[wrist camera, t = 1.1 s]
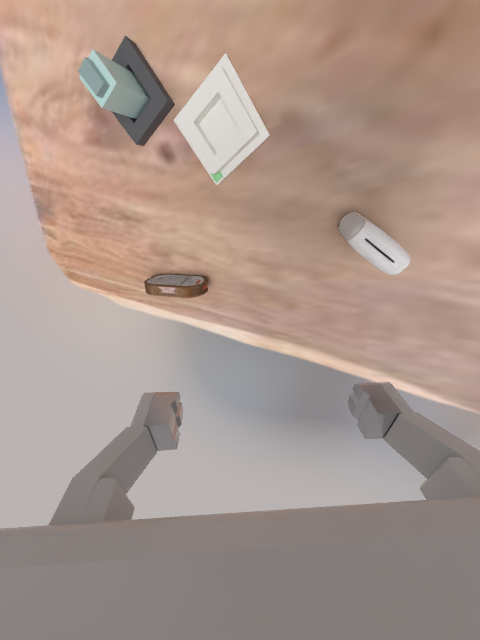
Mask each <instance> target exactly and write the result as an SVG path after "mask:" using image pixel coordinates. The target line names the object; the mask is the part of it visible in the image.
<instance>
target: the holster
mask: <svg viewBox="0 0 480 640" xmlns="http://www.w3.org/2000/svg"><path fill="white" fill-rule="evenodd" d="M112 61H114V62H116V63H117V64H119V65H121V66H122V67H124V68H126V69H127V70H129V71H131V72H132V73H134V74H135V75H136V76H137V78H138V79H139V81H140V82H141V84H142V85H143V87H144V88H145V90H146V91H147V93H148V94H149V96H150V97H151V99H150V101H149V102H148V104H147V105H146V107H145V108H144V110H143V111H142V113H141V114H140V116H139V117H138V118H137V119H134V118H131V117H128V116H125V115H122V114H119V113H116V112H113V111H112V112H113V114H114V115H115V116H116V118H117V119H118V121H119V122H120V123H121V125H122V126H123V127H124V129H125V130H126V131H127V133H128V134H129V135H130V137H131V138H132V139H133V141H134V142H135V144H137V145H143V146H144V145H145V143H146V142H147V141H148V139H149V138H150V137H151V135H152V134H153V133H154V131H155V130H156V129H157V127H158V126H159V125H160V123H161V122H162V121H163V119H164V118H165V117H166V115H167V114H168V113H169V111H170V110H171V109H172V107H173V106H174V105H175V104H174V103H173V101H172V100H171V98H170V96H169V95H168V93H167V92H166V90H165V89H164V87H163V86H162V84H161V82H160V81H159V79H158V78H157V76H156V75H155V73H154V72H153V70H152V69H151V67H150V65H149V64H148V62H147V61H146V59H145V58H144V56H143V55H142V53H141V51H140V50H139V48H138V47H137V45H136V44H135V43H134V42H133V41H132V40H130V39H129V38H128V37H126V36H125V37H124V39H123V41H122V43H121V44H120V46H119V48H118V50H117V52H116V54H115V56H114V57H113V59H112Z"/></svg>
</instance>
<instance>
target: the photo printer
mask: <svg viewBox="0 0 480 640" xmlns="http://www.w3.org/2000/svg"><path fill="white" fill-rule="evenodd" d="M338 229H339V231H340V232H341V233H342V235H343V236H344V238H345V239H346V241H347V242H348V243H349V245H350V246H351V247H352V248H353V249H354V250H355V251H356V252H357V253H359V254H360V255H361V256H362V257H363V258H365V259H366V260H367V261H368V262H370V263H371V264H372V265H373V266H375V267H376V268H378V269H379V270H381V271H383V272H384V273H387V274H389V275H396V274H399V273H400V272H401V271H402V270H403V269H404V268H406V267H407V266H408V265H409V263H410V256H409V254H408V253H407V251H406V250H405V249H404V248H402V247H401V246H400V245H399V244H398V243H397V242H396V241H395V240H393V239H392V238H391V237H390V236H389V235H387V234H386V233H385V232H384V231H382V230H381V229H380V228H378V227H377V226H376V225H374V224H373V223H372V222H370V221H369V220H368V219H366V218H365V217H363V216H362V215H360V214H358V213H356V212H354V211H352V212H351V213H349V214H347V215H345V216H344V217H343V218H342V219H341V221H340V224H339V227H338Z"/></svg>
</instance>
